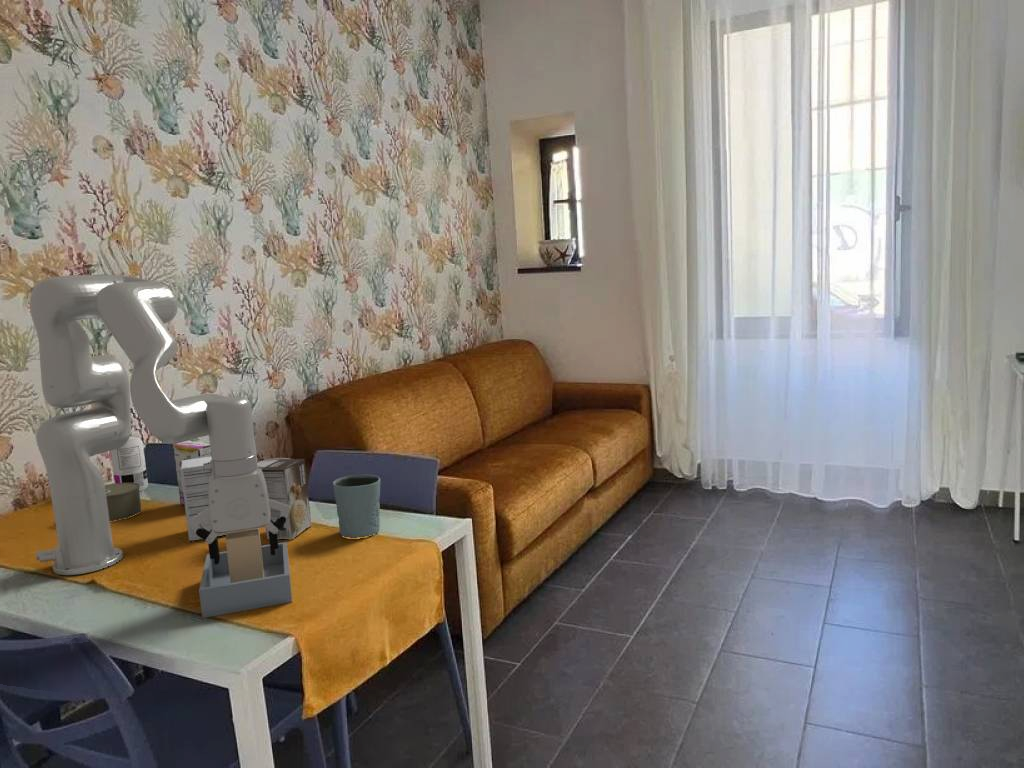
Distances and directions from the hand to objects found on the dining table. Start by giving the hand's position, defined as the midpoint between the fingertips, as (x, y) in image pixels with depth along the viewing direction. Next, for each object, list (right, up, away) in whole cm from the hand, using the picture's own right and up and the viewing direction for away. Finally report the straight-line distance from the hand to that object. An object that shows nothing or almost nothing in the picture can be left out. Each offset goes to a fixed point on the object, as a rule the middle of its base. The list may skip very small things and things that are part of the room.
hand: (245, 557), depth 133 cm
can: (-51, -2, +51) cm, 72 cm away
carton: (0, -5, +1) cm, 5 cm away
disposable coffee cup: (-9, 0, +49) cm, 50 cm away
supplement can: (-59, +1, +74) cm, 94 cm away
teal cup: (+15, -2, +29) cm, 33 cm away
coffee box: (-1, -2, +31) cm, 31 cm away
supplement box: (-20, -3, +34) cm, 40 cm away
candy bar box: (-32, 0, +55) cm, 64 cm away
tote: (0, -6, +1) cm, 6 cm away
